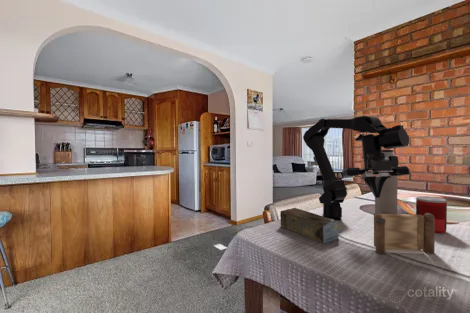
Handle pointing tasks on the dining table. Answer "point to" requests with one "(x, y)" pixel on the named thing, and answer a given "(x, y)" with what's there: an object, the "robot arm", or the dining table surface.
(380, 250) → the post
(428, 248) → the hinge post
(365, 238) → the dining table surface
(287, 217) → the beverage carton
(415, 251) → the threshold
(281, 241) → the dining table surface
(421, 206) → the canned food
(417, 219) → the gate
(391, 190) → the thermos bottle
